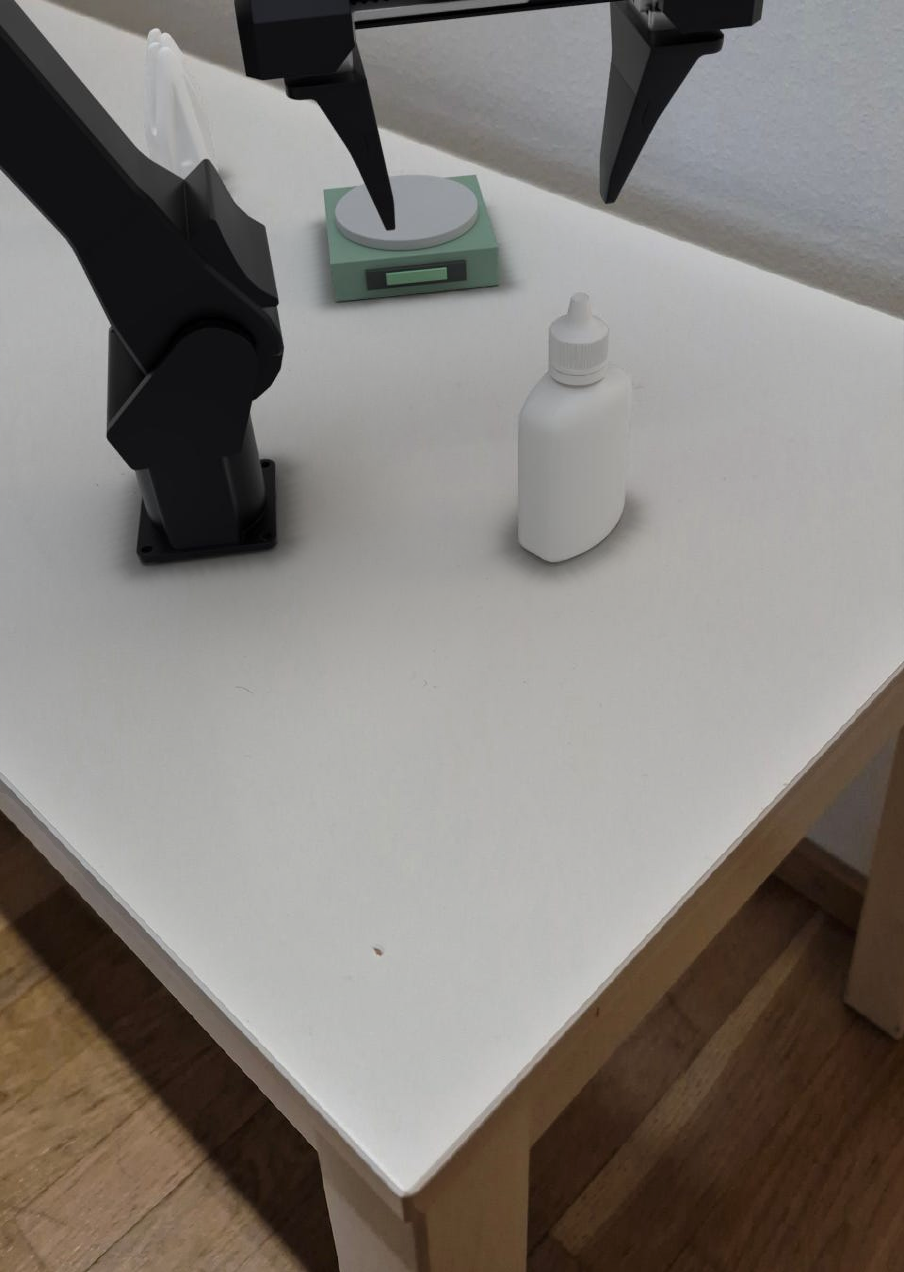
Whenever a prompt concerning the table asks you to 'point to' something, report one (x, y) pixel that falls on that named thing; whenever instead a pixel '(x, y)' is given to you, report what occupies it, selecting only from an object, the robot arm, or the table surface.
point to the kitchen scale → (411, 239)
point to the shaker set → (174, 109)
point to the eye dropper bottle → (573, 441)
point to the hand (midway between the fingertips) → (499, 212)
